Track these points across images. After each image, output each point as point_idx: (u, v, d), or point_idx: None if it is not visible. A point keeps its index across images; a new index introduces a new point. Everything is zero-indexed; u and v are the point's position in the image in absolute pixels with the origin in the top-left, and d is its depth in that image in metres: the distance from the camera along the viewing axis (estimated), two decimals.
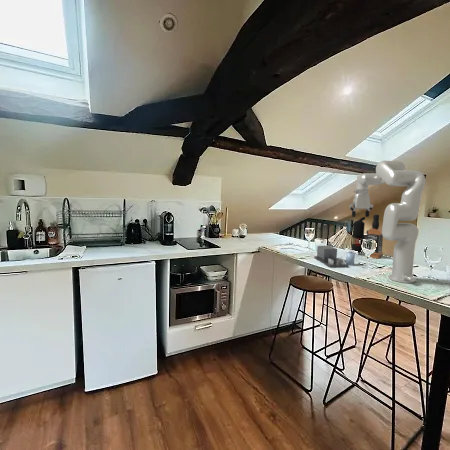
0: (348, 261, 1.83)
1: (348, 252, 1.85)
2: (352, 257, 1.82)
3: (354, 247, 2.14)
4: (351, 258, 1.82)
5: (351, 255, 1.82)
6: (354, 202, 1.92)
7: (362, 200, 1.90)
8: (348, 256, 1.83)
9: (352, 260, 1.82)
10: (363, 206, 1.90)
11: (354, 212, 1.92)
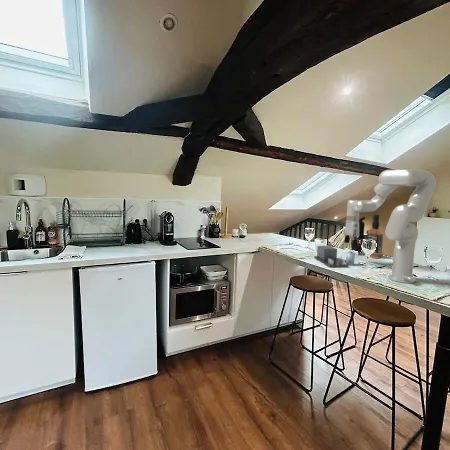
0: (348, 261, 1.83)
1: (348, 252, 1.85)
2: (352, 257, 1.82)
3: (354, 247, 2.14)
4: (351, 258, 1.82)
5: (351, 255, 1.82)
6: (356, 230, 1.77)
7: None
8: (348, 256, 1.83)
9: (352, 260, 1.82)
10: None
11: (356, 241, 1.78)
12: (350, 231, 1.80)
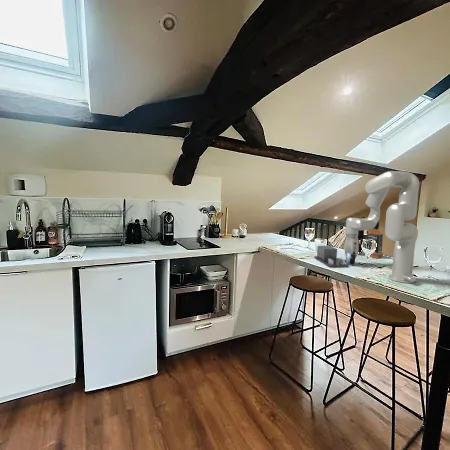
0: (348, 261, 1.83)
1: None
2: None
3: None
4: None
5: None
6: (355, 249, 1.79)
7: None
8: (348, 256, 1.83)
9: None
10: None
11: (354, 259, 1.81)
12: (349, 249, 1.81)
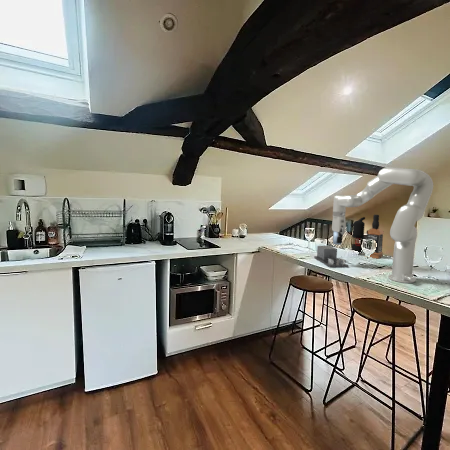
0: (335, 240, 1.78)
1: None
2: None
3: (354, 247, 2.14)
4: None
5: None
6: (342, 227, 1.73)
7: None
8: (335, 235, 1.78)
9: None
10: None
11: (341, 238, 1.76)
12: (336, 227, 1.75)
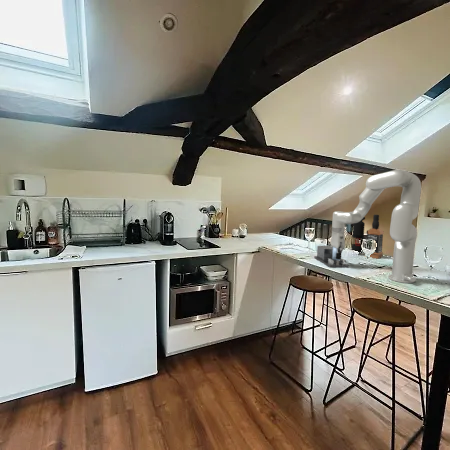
0: (334, 256, 1.79)
1: (334, 247, 1.81)
2: None
3: (354, 247, 2.14)
4: None
5: None
6: (341, 243, 1.75)
7: None
8: (334, 251, 1.79)
9: None
10: None
11: (340, 254, 1.77)
12: (335, 243, 1.77)
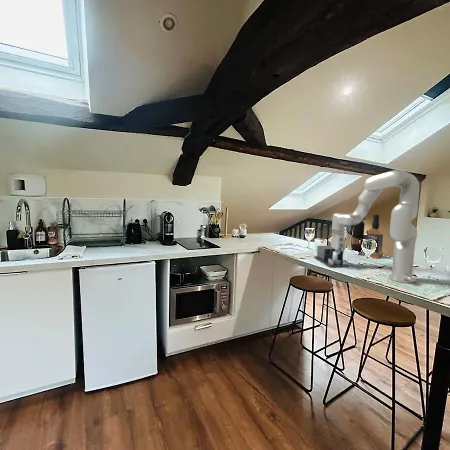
0: (334, 260, 1.79)
1: (334, 251, 1.82)
2: None
3: (354, 247, 2.14)
4: (337, 257, 1.78)
5: (337, 254, 1.78)
6: (342, 244, 1.74)
7: None
8: (334, 255, 1.79)
9: None
10: None
11: (342, 255, 1.75)
12: (335, 245, 1.77)
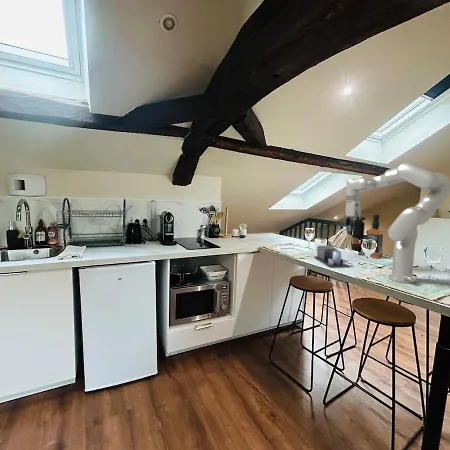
0: (334, 260, 1.79)
1: (334, 251, 1.82)
2: (338, 256, 1.78)
3: (354, 247, 2.14)
4: (337, 257, 1.78)
5: (337, 254, 1.78)
6: (358, 210, 1.69)
7: None
8: (334, 255, 1.79)
9: (338, 259, 1.78)
10: None
11: (358, 221, 1.70)
12: (351, 211, 1.71)
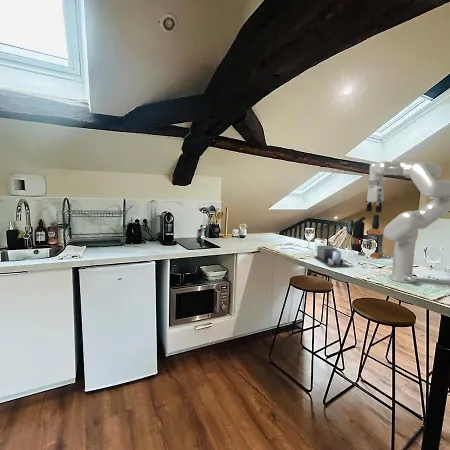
0: (334, 260, 1.79)
1: (334, 251, 1.82)
2: (338, 256, 1.78)
3: (354, 247, 2.14)
4: (337, 257, 1.78)
5: (337, 254, 1.78)
6: (381, 195, 1.64)
7: None
8: (334, 255, 1.79)
9: (338, 259, 1.78)
10: None
11: (380, 207, 1.65)
12: (373, 197, 1.66)
